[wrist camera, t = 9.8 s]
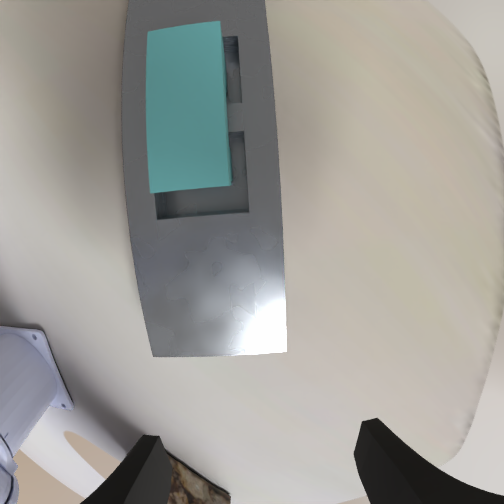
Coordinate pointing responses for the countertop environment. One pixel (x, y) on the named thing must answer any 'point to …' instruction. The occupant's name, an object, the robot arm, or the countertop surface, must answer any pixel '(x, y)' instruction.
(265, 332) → the rail
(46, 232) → the countertop surface
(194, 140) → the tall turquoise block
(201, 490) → the stone block
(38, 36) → the countertop surface
